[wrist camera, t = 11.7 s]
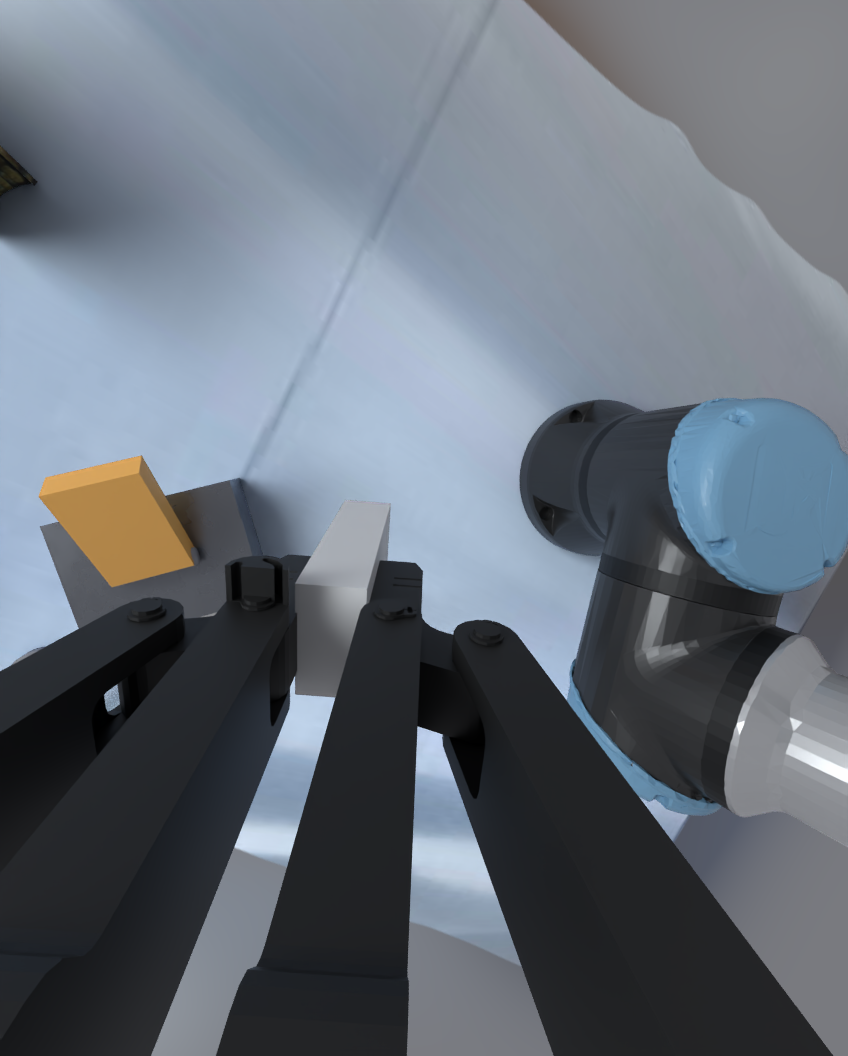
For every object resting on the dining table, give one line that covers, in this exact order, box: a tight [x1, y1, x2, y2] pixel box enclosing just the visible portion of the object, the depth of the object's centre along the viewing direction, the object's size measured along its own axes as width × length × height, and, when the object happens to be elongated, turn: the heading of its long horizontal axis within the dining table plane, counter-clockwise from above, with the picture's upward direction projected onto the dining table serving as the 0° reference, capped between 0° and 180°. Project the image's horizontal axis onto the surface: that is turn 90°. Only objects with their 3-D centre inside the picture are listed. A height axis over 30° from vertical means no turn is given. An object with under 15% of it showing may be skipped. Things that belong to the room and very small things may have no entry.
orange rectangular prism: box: [39, 456, 200, 587], centre depth 37 cm, size 2×6×10 cm
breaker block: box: [40, 478, 263, 628], centre depth 43 cm, size 11×14×5 cm
